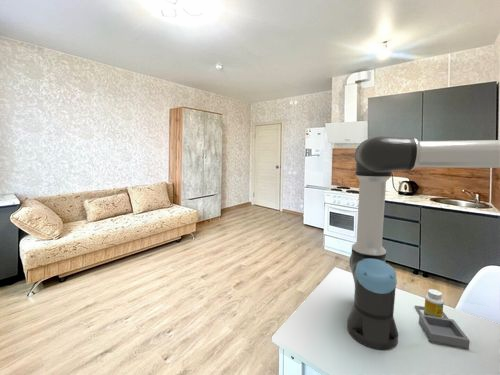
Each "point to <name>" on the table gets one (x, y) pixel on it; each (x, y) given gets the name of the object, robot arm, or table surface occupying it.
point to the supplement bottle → (433, 303)
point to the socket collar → (423, 309)
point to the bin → (443, 331)
